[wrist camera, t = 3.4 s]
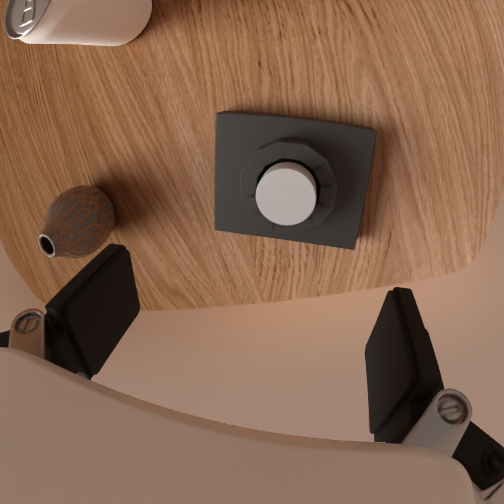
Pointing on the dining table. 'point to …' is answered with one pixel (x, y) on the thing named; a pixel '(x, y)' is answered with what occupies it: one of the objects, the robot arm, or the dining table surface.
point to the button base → (301, 152)
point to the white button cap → (286, 193)
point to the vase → (77, 223)
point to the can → (76, 21)
